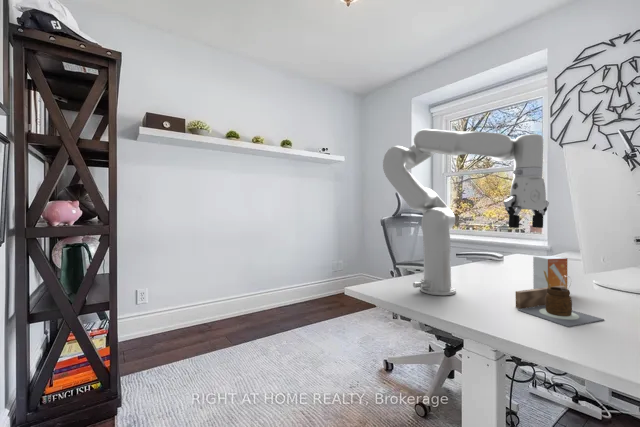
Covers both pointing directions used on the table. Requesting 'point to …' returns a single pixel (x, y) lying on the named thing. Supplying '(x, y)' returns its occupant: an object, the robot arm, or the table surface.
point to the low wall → (532, 297)
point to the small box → (549, 271)
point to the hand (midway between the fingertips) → (525, 227)
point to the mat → (567, 321)
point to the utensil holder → (558, 300)
